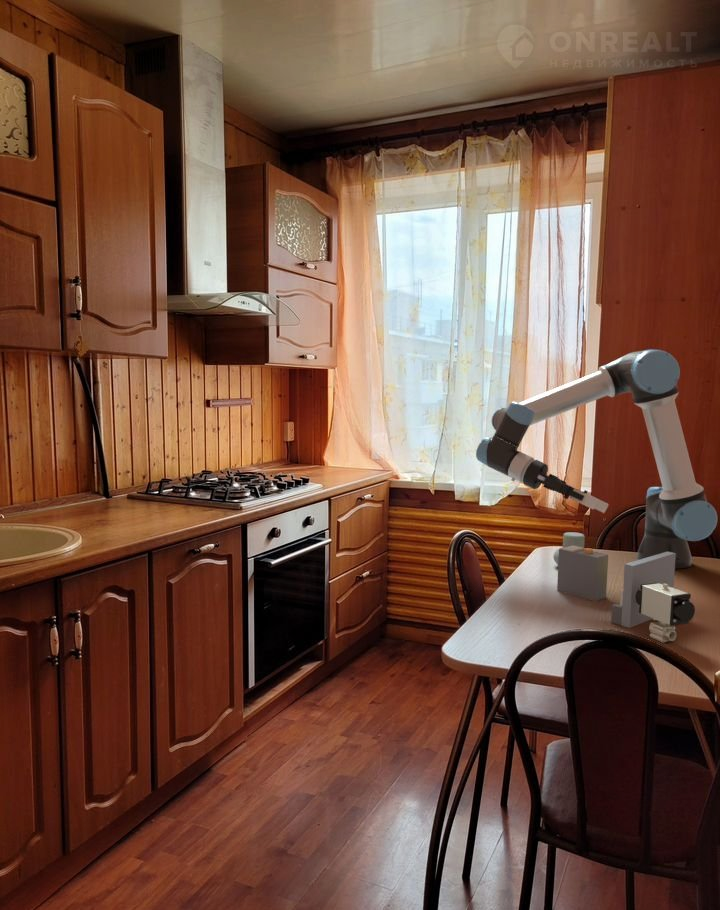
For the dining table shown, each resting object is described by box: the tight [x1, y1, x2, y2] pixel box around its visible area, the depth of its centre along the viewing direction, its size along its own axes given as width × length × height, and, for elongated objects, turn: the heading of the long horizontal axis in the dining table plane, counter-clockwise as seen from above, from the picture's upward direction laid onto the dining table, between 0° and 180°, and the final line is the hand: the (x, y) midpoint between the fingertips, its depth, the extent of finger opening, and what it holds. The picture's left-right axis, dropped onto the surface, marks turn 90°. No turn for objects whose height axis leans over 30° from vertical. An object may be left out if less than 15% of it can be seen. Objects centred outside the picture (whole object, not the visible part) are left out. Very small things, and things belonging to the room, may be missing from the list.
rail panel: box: [610, 552, 676, 629], centre depth 161 cm, size 19×4×14 cm, turn 129°
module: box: [556, 546, 609, 602], centre depth 178 cm, size 5×11×12 cm, turn 39°
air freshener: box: [553, 531, 586, 565], centre depth 203 cm, size 11×8×10 cm
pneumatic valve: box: [635, 583, 696, 644], centre depth 147 cm, size 6×12×12 cm, turn 23°
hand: (601, 506), depth 180 cm, fingers open, 13 cm apart
